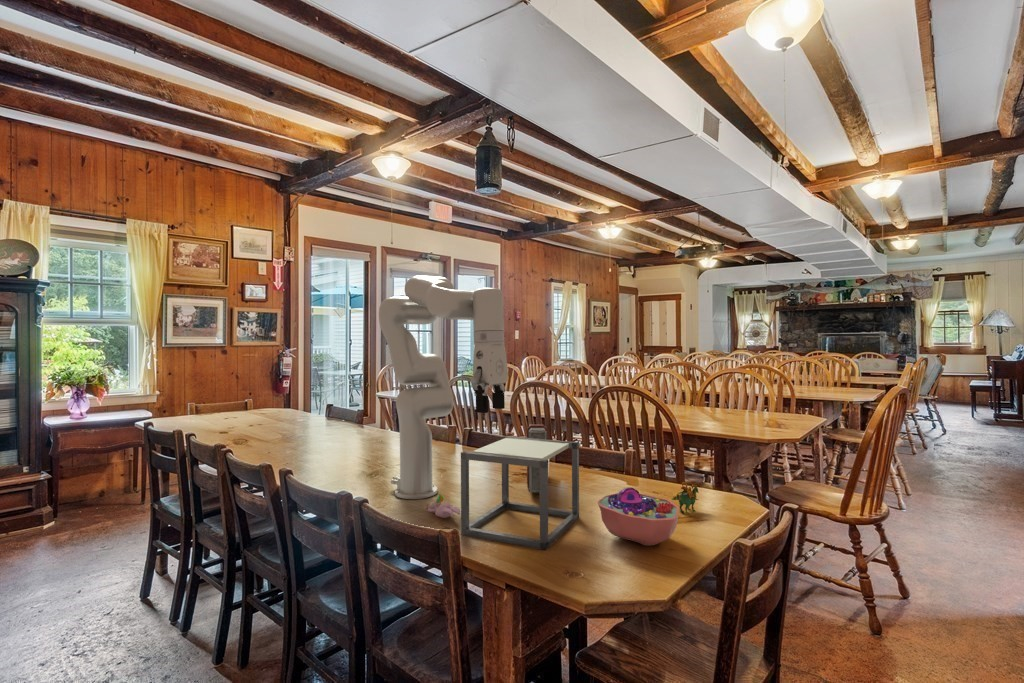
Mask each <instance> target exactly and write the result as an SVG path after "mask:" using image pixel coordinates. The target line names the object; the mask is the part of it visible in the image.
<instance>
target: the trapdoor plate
mask: <svg viewBox="0 0 1024 683" xmlns="http://www.w3.org/2000/svg"><path fill="white" fill-rule="evenodd" d="M567 449H569V443H563V442H551V441H540V440H529V439H518V438H504V439H502V438H501V439H499V440H497V441H495V442H492V443H489V444H487V445H485V446H482V447H479V448H477V449H475V450H472V451H471V452H474V453H484V454H493V455H503V456H512V457H522V458H531V459H541V460H548V461H549V459H551V458H553V457H555V456H557V455H558V454H561V453H562V452H563V451H566V450H567Z"/></svg>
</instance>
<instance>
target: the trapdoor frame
mask: <svg viewBox="0 0 1024 683" xmlns="http://www.w3.org/2000/svg"><path fill="white" fill-rule="evenodd" d="M504 438H518V439H529V440H540V441H551V442H563V443H569V448H568V449H571V510H568V509H560V508H554V507H549V459H548V460H541V459H531V458H522V457H512V456H503V455H493V454H484V453H474V452H472V451H464V450H463V451H461V452H460V532H461V533H460V534H461V536H466V537H472V538H478V539H483V540H487V539H488V540H489V541H493V540H494V541H495V542H498V543H504V544H509V545H515V546H519V547H526V548H530V549H536V550H541V551H547V550H548V549H549V548H550V547H551V546H552V545H554V543H555V542H556V541H557V540H558V539H559V538H560V537H561V536H562V535H564V533H566V531H567V530H568V529H570V527H571V526H572V525H573V524H575V522H576V521H578V519H580V458H579V457H580V452H579V451H580V446H579V445H580V443H579V441H568V440H557V439H548V440H546V439H535V438H527V437H522V436H521V437H520V436H513V435H511V436H510V435H503V436H501V440H502V439H504ZM470 461H476V462H477V461H478V462H483V463H484V462H486V463H493V464H494V463H495V464H501V502H500V503H498V504H497V505H496V506H494V507H492V508H491V509H489V510H488V511H486V512H485V513H483V514H481V515H480V516H478V517H477V518H474V520H472V521H470ZM509 465H511V466H512V465H513V466H519V467H521V466H522V467H527V466H528V467H537V468H540V492H539V505H535V504H527V503H520V502H515V501H510V499H509V498H510V496H509V494H510V480H509V479H510V476H509V472H510V471H509V469H510V466H509ZM505 510H513V511H521V512H527V513H534V514H539V539H537V538H530V537H525V536H520V535H516V534H508V533H505V532H504V533H503V532H499V531H492V530H491V531H490V530H486V529H480V527H481V526H483V525H485V524H486V523H487V522H489V521H490V520H492V519H493V518H495V517H496V516H498V515H499V514H501V513H502V512H504V511H505ZM549 516H553V517H559V518H564V520H562V522H560V524H558V525H557V526H556V527H555V528H554V529H553V530H551V532H550V533H549Z"/></svg>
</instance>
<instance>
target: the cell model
mask: <svg viewBox="0 0 1024 683" xmlns="http://www.w3.org/2000/svg"><path fill="white" fill-rule="evenodd" d="M597 505H598V507H599V509H600V516H601V521H602V522H603V524H604V526H605V528H606V529H607V530H608V532H609V533H610V534H611V535H612V536H615V537H617V538H619V539H622V540H626V541H633V542H636V543H639V544H641V545H643V546H647V547H649V546H654V545H658V544H660V543H663V542H665V541H667V540H669V539H670V537H672V535H673V534H674V532H675V530H676V528H677V525H678V521H679V513H680V506H678V505H676V504H675V503H674V501H673V500H672V501H671V500H669V499H666V498H661V497H657V496H654V495H649V494H645V493H640V492H639V490H637V489H635V488H634V487H624V488H622V489H620V491H619V492H617V493H613V494H607V495H604V496H603V497H602V498H600V499H598V500H597Z"/></svg>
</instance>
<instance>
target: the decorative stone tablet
mask: <svg viewBox="0 0 1024 683" xmlns="http://www.w3.org/2000/svg"><path fill="white" fill-rule="evenodd" d="M548 434H549V433H548V428H547V427H546V426H545V425H544V424H532V423H531V424H530V423H529V425H528V427H526V438H535V439H546V440H549V438H548V437H549V436H548ZM526 485H527V488H528V490H529V492H530V493H540V468H537V467H528V466H526Z"/></svg>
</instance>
